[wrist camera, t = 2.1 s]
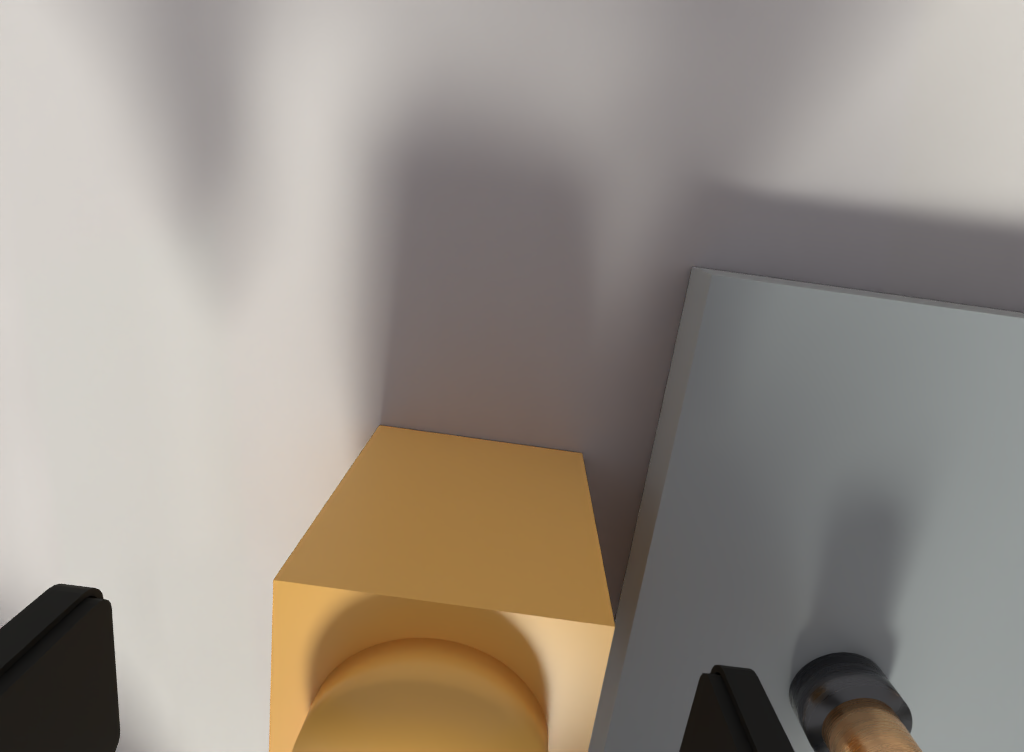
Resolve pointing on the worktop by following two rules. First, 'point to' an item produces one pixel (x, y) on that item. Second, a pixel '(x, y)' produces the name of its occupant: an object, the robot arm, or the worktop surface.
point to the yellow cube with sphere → (443, 604)
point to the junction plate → (829, 511)
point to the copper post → (850, 706)
